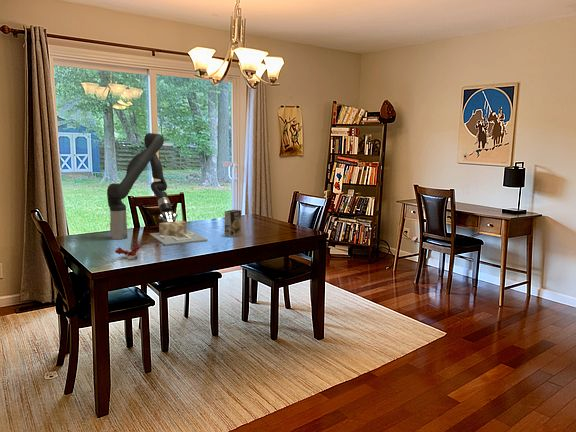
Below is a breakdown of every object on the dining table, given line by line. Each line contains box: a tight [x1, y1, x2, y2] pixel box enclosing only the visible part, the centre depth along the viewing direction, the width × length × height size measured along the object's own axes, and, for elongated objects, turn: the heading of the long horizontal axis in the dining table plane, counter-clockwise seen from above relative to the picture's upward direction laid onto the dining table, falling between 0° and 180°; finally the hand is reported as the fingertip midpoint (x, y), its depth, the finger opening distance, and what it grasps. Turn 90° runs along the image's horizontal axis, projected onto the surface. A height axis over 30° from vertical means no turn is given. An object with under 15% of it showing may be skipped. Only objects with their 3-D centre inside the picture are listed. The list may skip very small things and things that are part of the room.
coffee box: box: [224, 209, 242, 238], centre depth 287 cm, size 9×6×16 cm
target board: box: [150, 229, 209, 247], centre depth 278 cm, size 26×32×2 cm
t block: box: [158, 220, 188, 238], centre depth 282 cm, size 16×15×7 cm
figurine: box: [114, 243, 143, 260], centre depth 232 cm, size 15×12×7 cm
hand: (171, 227), depth 288 cm, fingers closed
